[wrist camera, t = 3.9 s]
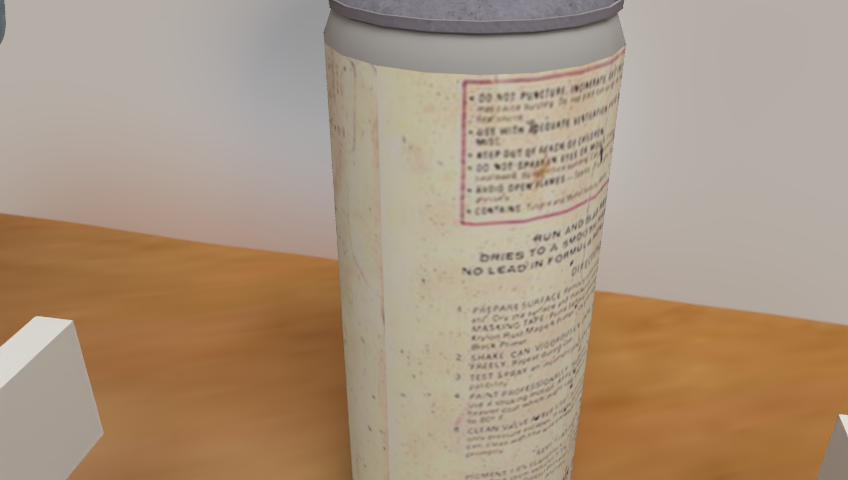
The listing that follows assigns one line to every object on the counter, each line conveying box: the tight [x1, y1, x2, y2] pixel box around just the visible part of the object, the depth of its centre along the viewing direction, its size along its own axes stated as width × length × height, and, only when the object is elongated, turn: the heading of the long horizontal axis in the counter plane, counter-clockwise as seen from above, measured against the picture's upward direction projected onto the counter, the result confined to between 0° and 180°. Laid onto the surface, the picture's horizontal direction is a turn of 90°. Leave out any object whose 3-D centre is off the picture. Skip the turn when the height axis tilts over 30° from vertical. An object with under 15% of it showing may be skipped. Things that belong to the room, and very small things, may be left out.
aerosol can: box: [324, 0, 626, 480], centre depth 20 cm, size 7×7×20 cm
